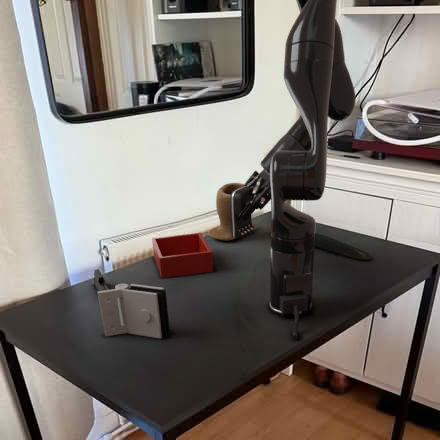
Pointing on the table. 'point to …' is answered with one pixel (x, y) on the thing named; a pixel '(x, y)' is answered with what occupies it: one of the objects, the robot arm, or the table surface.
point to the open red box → (182, 255)
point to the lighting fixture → (100, 282)
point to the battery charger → (237, 204)
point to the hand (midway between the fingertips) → (238, 213)
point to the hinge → (135, 310)
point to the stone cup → (225, 212)
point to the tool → (339, 247)
